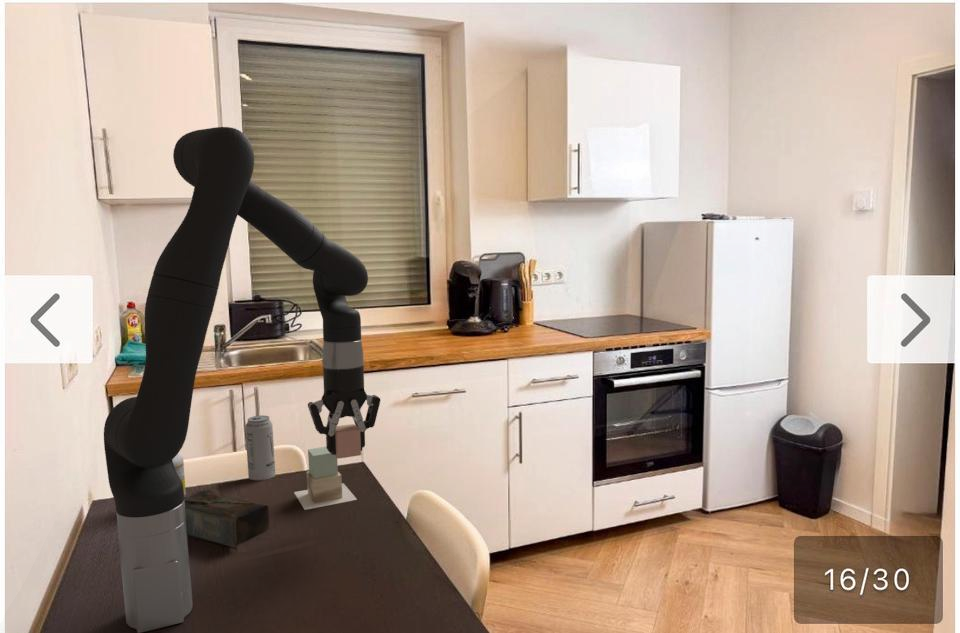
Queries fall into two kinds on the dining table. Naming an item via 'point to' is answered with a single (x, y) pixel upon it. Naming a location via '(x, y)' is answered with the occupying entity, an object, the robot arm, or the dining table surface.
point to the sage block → (322, 463)
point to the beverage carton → (224, 518)
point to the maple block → (324, 488)
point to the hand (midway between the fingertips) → (346, 451)
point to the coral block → (347, 441)
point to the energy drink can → (260, 448)
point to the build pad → (309, 504)
